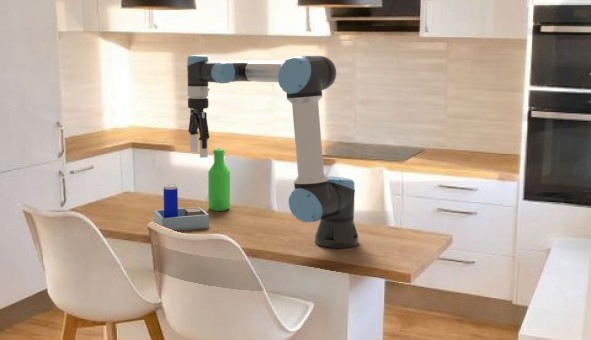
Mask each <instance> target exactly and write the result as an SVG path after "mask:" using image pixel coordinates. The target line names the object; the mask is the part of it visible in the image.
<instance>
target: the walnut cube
mask: <svg viewBox="0 0 591 340" xmlns="http://www.w3.org/2000/svg"><path fill="white" fill-rule="evenodd" d="M194 215H201V211H200V210H199V209H198V208H193V209H185V216H194Z"/></svg>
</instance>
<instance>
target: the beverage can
mask: <svg viewBox="0 0 591 340" xmlns="http://www.w3.org/2000/svg"><path fill="white" fill-rule="evenodd" d="M178 189H179V188H178V185H177V184H171V183H169V184H164V186H163V210H164V218H170V217H178V209H179V197H178V195H179V194H178V193H179V192H178V191H179V190H178Z"/></svg>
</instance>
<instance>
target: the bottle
mask: <svg viewBox="0 0 591 340" xmlns="http://www.w3.org/2000/svg"><path fill="white" fill-rule="evenodd" d="M225 153H226V152H225V149H223V148H215V149H213V153H212V154H213V160H214V161H213V164H212V165H211V167H210V168H209V170H208V176H207V177H208V178H207V179H208V181H207V183H208V185H207V186H208V187H207V188H208V189H207V190H208V194H207V195H208V209H210V210H211V211H215V212H219V211H220V212H223V211H227V210H229V209H230V207H231V172H230V170H229V168H228V167H227V165H226V164H225V158H224V157H225V155H224V154H225Z"/></svg>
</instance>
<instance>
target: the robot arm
mask: <svg viewBox="0 0 591 340" xmlns="http://www.w3.org/2000/svg"><path fill="white" fill-rule="evenodd" d="M186 64H187V65H186V70H187V97H188V99H187V108H188V109H190V115H189V122H188V123H189V124H188V133H189V141H190V143H189V145H190V147H189V148H190V149H189V150H190V153H197V152H199V158H201V159H202V158H209V156H208V151H209V150H208V140H209V139H210V133H209V126H208V119H207V118H208V117H207V116H208V115H207V111H204V109H205V110H206V109H208V108H209V98H208V97H209V91H211V90H210V88H209V83H216V84H229V83H234V82H254V83H255V82H259V83H278V85H279V87H280V88H281V89H282V91H283V92H285V94H286V100H287V101H288V102H290V103H291V108H292V119H293V129H294V130H293V131H294V132H293V133H294V144H295V155H296V165H297V166H296V167H297V168H296V169H297V177H296V178H295V180H294V181H293V185H294V186H293V188H294V190H292V191H291V193H290V195H289V196H288V207H289V210H290V212H291V214H292V215H293V216H294V217H295V219H297V220H298V221H300V222H302V223H307V224H308V223H312V222H313V223H315V222H316V223H317V222H318V221H319V223H318V226H317V229H316V232H315V235H314V243H315V244H316V245H318V246H321V247H325V248H332V249H344V248H345V249H347V248H352V247H356V246H357V245H358V244H359V233H358V230H357V228H356V224H355V193H356V189H355V181H354V180H353V179H351V178H348V177H341V176H340V177H339V176H332V175H331V176H329V175H327V176H326V175H325V171H324V170H325V168H324V159H323V147H322V134H321V123H320V122H321V121H320V120H321V119H320V110H319V109H320V108H319V107H320V106H319V101H320V100H321V99H322V97H323V91H324V90H325V91H326V90H327V89H329V88H330V87H332V85H333V83H335V81H336V78H337V68H336V66H335V64H334V62H333V61H332V60H331V59H330V58H328V57H326V56H323V55H298V56H292V57H289V58H287V59H285V60H245V59H244V60H231V61H230V60H226V61H214V60H213V61H209V57H208V55H205V54H204V55H203V54H200V55H199V54H196V55H195V54H193V55H189V56H188V57H187V61H186ZM198 135H199V137H198Z"/></svg>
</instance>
